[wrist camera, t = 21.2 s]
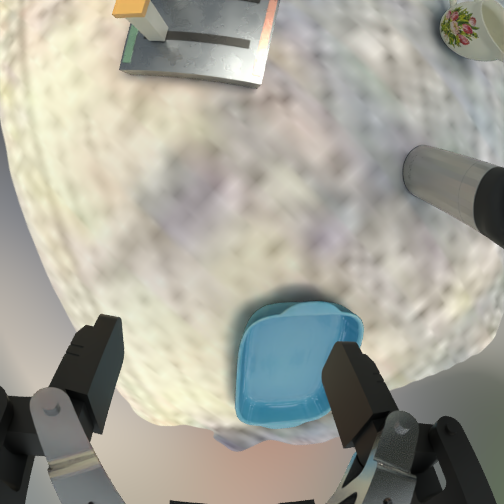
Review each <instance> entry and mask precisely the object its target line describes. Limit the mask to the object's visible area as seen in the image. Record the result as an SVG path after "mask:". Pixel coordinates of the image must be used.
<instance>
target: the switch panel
mask: <svg viewBox="0 0 504 504" xmlns="http://www.w3.org/2000/svg"><path fill="white" fill-rule="evenodd" d="M151 2H152V3H153V5H154V6H155V8H156V9H157V11H158V12H159V14H160V15H161V17H162V18H163V20H164V22H165V23H166V25H167V26H168V31H167V34H166V38H165V41H149V40H148V39H147V38H146V37H145V36H144V35H143V34H142V33H141V32H140V31H139V30H138V29H137V28H136V27H134V26H133V25H132V24H130V27H129V31H128V35H127V39H126V43H125V47H124V51H123V55H122V59H121V64H120V69H119V70H121V71H123V72H125V73H128V74H130V75H149V76H166V77H178V78H189V79H198V80H206V81H214V82H221V83H227V84H234V85H240V86H245V87H251V88H256V89H257V88H258V87H259V86H260V85H261V83H262V79H263V74H264V69H265V65H266V60H267V56H268V51H269V47H270V42H271V38H272V33H273V29H274V25H275V20H276V16H277V12H278V7H279V3H280V0H151Z"/></svg>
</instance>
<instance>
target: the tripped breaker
mask: <svg viewBox="0 0 504 504" xmlns="http://www.w3.org/2000/svg"><path fill="white" fill-rule="evenodd" d="M112 15H113V16H114V17H115V18H126V19H127V20H128V21H129V22H130V23H131V24H132V25H133V26H134V27H136V28H137V29H138V30H139V31H140V32H141V33H142V34H143V35H144V36H145V37H146V38H147V39H148V40H149V41H165V38H166V34H167V31H168V26H167V25H166V23H165V22H164V20H163V18H162V17H161V15H160V14H159V12H158V11H157V9H156V8H155V6H154V5H153V3H152V2H151V0H116V3H115V6H114V9H113V13H112Z"/></svg>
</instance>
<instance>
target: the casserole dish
mask: <svg viewBox="0 0 504 504" xmlns="http://www.w3.org/2000/svg"><path fill="white" fill-rule="evenodd" d="M363 333H364V327H363V322H362V320H361V319H360V318H359V317H358V316H357V315H356V314H354V313H352V312H351V311H350V310H348V309H347V308H345V307H343V306H342V305H339V304H336V303H331V302H324V301H306V302H284V303H275V304H270V305H267V306H264V307H262V308H260V309H259V310H257V311H256V312H255V313H254V314H253V315H252V316H251V318H250V319H249V321H248V323H247V325H246V328H245V330H244V333H243V336H242V339H241V342H240V346H239V351H238V360H237V377H236V395H235V409H236V414H237V417H238V418H239V420H240V421H242V422H244V423H246V424H249V425H256V426H263V427H267V428H272V429H279V428H289V427H295V426H298V425H301V424H303V423H305V422H309V421H312V420H316V419H318V418H321V417H323V416H324V415H326V414H327V413H328V412H330V411H331V408H330V405H329V402H328V399H327V396H326V393H325V390H324V387H323V384H322V379H321V375H322V369H323V367H324V365H325V363H326V361H327V359H328V356H329V354H330V352H331V350H332V348H333V346H334V344H335V343H336V342H337V341H351V342H356V343H357V344H358V346H359V348H360V346H361V343H362V339H363Z"/></svg>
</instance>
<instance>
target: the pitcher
mask: <svg viewBox="0 0 504 504" xmlns="http://www.w3.org/2000/svg"><path fill="white" fill-rule="evenodd" d="M449 1H450V7H451V8H450V9H449V10H447V11H446V12H445V14H444V15H443V16H442V19H441V22H440V27H439V29H440V34H441V37H442V39H443V41H444V42H445V44H446V45H447V46H448V47H449V48H450V49H451V50H453V51H454V52H455V53H457V54H458V55H460V56H463V57H465V58H468V59H471V60H475V61H494V60H500V61H502V62H504V8H503V7H502V6H501V5H500V4H499V3H498V2H496V1H495V0H474V1H473V2H462V3H459V4H457V1H456V0H449Z"/></svg>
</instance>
